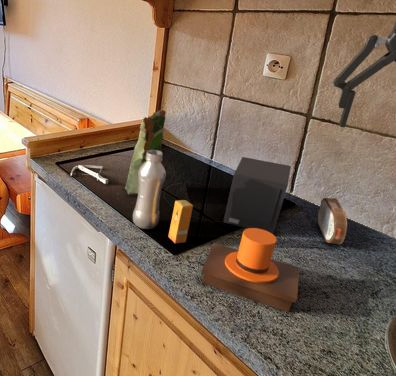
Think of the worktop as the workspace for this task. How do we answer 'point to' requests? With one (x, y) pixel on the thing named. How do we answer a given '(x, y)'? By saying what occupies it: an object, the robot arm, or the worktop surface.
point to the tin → (332, 221)
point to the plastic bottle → (149, 191)
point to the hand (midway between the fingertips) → (384, 130)
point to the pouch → (145, 147)
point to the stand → (261, 292)
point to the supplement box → (180, 221)
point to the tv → (257, 194)
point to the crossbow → (91, 172)
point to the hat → (254, 257)
